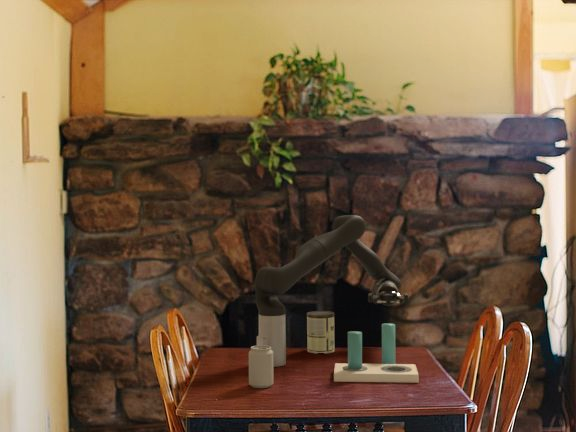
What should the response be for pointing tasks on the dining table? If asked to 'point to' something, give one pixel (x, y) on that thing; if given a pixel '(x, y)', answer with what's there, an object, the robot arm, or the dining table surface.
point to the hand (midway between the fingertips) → (388, 301)
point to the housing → (377, 373)
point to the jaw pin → (388, 343)
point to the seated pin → (354, 350)
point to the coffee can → (320, 332)
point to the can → (261, 366)
